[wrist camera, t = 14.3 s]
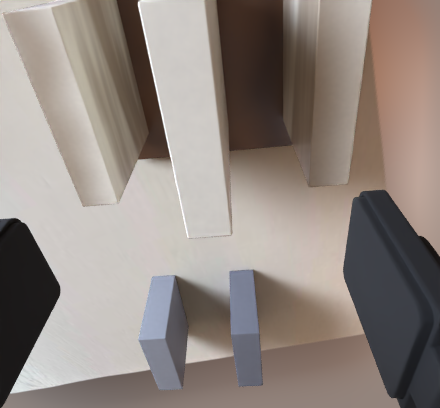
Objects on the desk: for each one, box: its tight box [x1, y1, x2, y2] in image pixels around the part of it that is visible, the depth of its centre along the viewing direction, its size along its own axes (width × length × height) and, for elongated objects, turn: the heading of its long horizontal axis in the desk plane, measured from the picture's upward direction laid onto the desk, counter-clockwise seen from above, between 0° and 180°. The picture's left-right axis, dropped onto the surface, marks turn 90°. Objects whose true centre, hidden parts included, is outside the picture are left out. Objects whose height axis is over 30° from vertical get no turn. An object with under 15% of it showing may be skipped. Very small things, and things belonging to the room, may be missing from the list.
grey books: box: [138, 270, 263, 390], centre depth 43 cm, size 13×11×9 cm
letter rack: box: [2, 0, 372, 207], centre depth 23 cm, size 17×16×12 cm
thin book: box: [138, 0, 232, 239], centre depth 21 cm, size 2×11×15 cm, turn 6°
